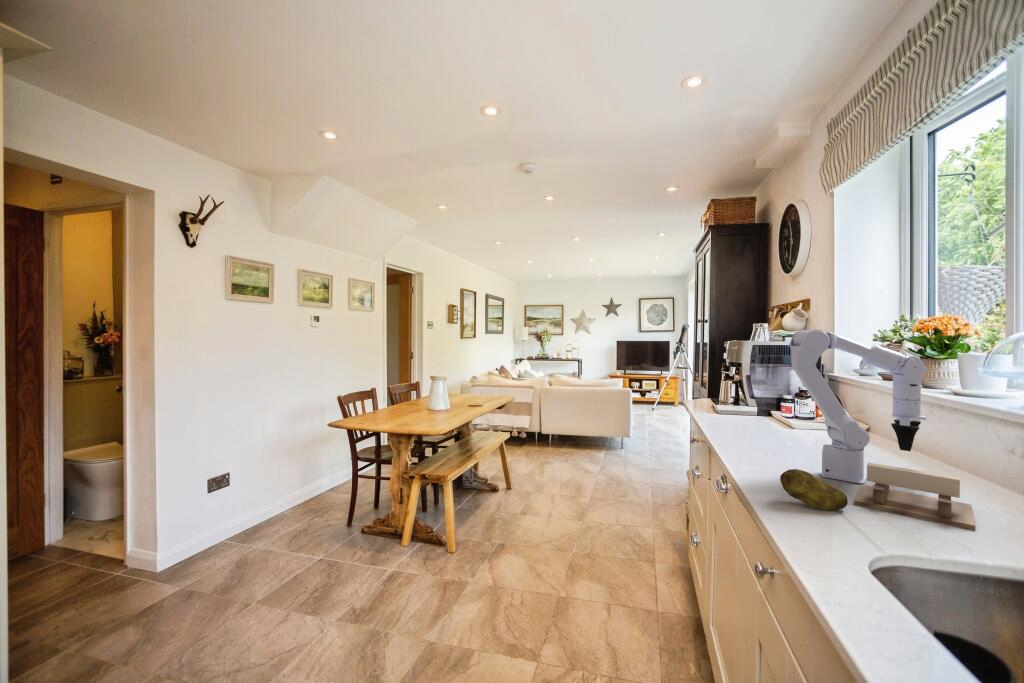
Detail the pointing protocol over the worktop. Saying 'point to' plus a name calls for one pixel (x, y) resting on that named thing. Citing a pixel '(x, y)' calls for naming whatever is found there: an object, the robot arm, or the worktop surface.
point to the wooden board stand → (916, 505)
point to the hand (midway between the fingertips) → (906, 447)
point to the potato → (812, 490)
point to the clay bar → (914, 479)
